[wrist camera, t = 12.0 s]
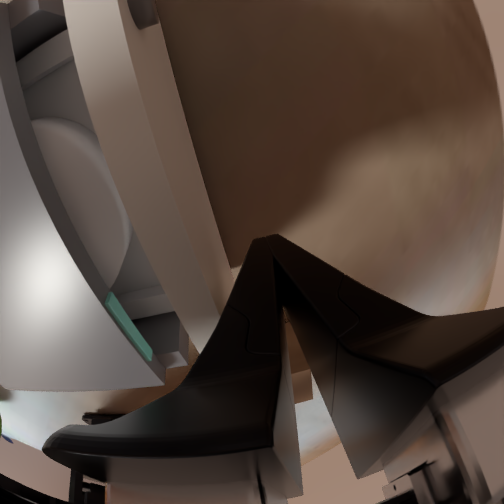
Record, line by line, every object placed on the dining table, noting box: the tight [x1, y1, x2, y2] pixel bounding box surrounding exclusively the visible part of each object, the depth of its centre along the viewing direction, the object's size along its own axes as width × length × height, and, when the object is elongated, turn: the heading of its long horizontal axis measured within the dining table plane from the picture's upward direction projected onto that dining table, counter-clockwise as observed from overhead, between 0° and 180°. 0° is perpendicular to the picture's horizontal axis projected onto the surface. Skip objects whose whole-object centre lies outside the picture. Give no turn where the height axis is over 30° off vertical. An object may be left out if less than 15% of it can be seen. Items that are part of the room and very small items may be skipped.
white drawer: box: [16, 0, 234, 354], centre depth 8 cm, size 13×12×6 cm
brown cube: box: [285, 322, 313, 404], centre depth 16 cm, size 4×4×4 cm
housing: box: [0, 0, 189, 392], centre depth 8 cm, size 14×12×5 cm
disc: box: [31, 117, 134, 289], centre depth 8 cm, size 7×7×2 cm
